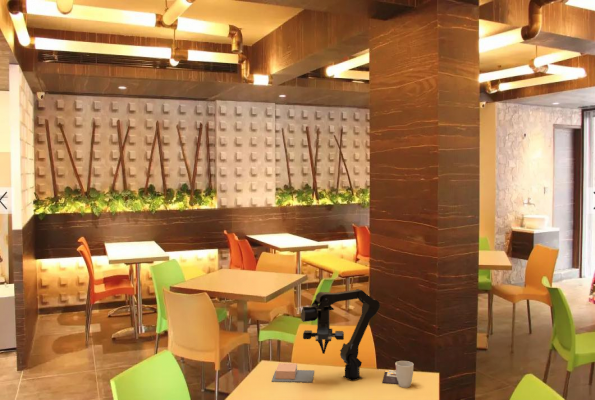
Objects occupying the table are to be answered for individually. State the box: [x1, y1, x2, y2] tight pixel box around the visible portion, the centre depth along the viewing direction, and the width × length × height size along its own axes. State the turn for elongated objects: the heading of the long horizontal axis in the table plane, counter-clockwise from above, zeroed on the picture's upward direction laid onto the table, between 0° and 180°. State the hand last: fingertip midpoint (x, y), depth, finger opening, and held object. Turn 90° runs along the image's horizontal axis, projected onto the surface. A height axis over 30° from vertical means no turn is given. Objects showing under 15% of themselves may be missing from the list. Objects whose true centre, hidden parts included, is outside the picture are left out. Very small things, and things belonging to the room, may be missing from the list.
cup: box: [395, 360, 414, 388], centre depth 247 cm, size 8×8×10 cm
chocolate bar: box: [381, 369, 399, 386], centre depth 258 cm, size 9×1×18 cm
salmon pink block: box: [275, 362, 298, 379], centre depth 260 cm, size 4×12×9 cm
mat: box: [271, 369, 315, 384], centre depth 260 cm, size 19×16×1 cm
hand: (323, 353), depth 253 cm, fingers closed
